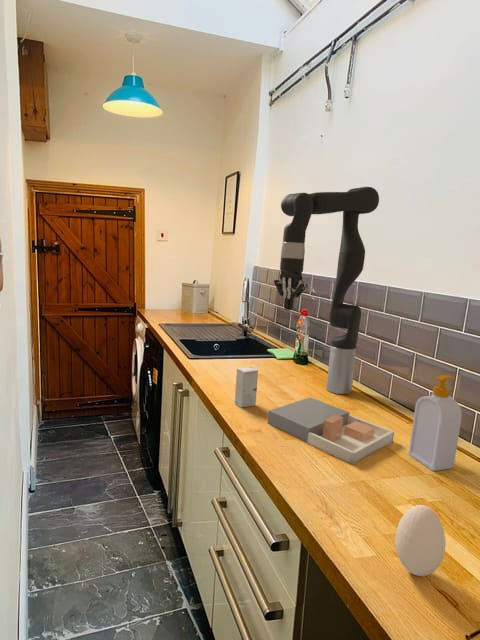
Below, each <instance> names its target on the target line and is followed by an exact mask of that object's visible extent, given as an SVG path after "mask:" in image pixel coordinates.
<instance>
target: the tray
mask: <svg viewBox="0 0 480 640" xmlns="http://www.w3.org/2000/svg"><path fill="white" fill-rule="evenodd" d="M355 421H357V422H360V423H362V424H365V425H368V426H370V427H373V428H375V431H374V436H373V437H372V438H370V439H368V440H366V441H365V442H361V441H359V440H357V439H354V438H352V437H349V436H347V435H344V432H345V426H347V425H349V424H351V423H353V422H355ZM394 435H395V431H393V430H390V429H388V428H386V427H382V426H380V425H377V424H374V423H372V422H370V421H367V420H364V419H362V418H360V417H356V416H354V415H352V414H351V415H350V414H349V421H348V424H346V425H344V426H342V435H341V438H340V439H338V440H336V441H334V442H331V441H329V440H327V439H325V438H322V436H323V435H321V436H318V435H316V434H313V433H311V432H309V433H308V442H307V444H308V445H311V446H313V447H314V448H316V449H319V450H321V451H323V452H325V453H327V454H329V455H332V456H333V457H336V458H338V459H340V460H342V461H344V462H347V463H348V464H350V465H352V466H353V465H355V464H356V463H358V462H360V461H361V460H363V459H365V458H367V457H368V456H370V455H373V454H374V453H376V452H378V451H379V450H381V449H383V448H384V447H386V446H387V445H389V444H392V443H393V442H394V438H395V437H394Z"/></svg>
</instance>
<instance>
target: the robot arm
mask: <svg viewBox="0 0 480 640" xmlns="http://www.w3.org/2000/svg"><path fill="white" fill-rule="evenodd" d="M379 203H380V196H379V191H377V190H376V189H375V187H372V186H362V187H355V188H350V189H348V190H347V191H337V192H336V191H322V192H321V191H319V192H318V191H317V192H312V193H308V192H297V193H289V194H287V195H286V196H284V197H283V198H282V200H281V204H280V209H281V211H282V212H283V214H285V215H286V216H287V217H292V221H290V222H289V223H287V224H285V226H284V228H283V237H282V244H281V245H282V246H281V253H280V264H279V270H280V274H279V277H278V278H277V279H274V280H273V283H274V285H275V287H276V290H277V292H278V294H279V296H280V297H283V298H284V299H283V300H284V301H283V308H284V310H285V311H292V310H293V308H294V300H295V299H296V298H299V297H300V296H301V295H302V294H303V293H304V291H305V290H306V288H308V283H307V282H304V281H303V276H302V275H303V272H304V263H305V253H306V252H305V251H306V250H305V248H306V247H305V245H306V244H305V242H306V234H307V228H308V226H309V222H310V220H311V217H312V215H326V214H334V213H339V212H342V225H341V226H342V229H341V239H340V246H339V253H338V261H337V268H336V269H337V270H336V276H335V278H336V279H335V285H334V290H333V295H332V301H331V304H330V310H329V315H328V316H329V317H328V318H329V325H330V326H331V327H332V328H338V329H343V330H346V333H345V334H344V335H339V336H334V337H332V338H331V340H330V348H329V358H328V359H329V360H328V361H329V362H328V369H327V379H326V388H325V389H326V390H327V391H328V392H330V393H333V394H337V395H349V394H351V392H352V390H353V383H354V376H355V359H356V351H357V343H358V339H359V332H360V327H361V326H360V325H361V319H362V309H361V307H360V306H359V305H356V304H348V303H344V299H345V297H346V293H347V292H348V290H349V289H350V287H351V286H352V285H353V284H354V283H355V281H356V280H357V279H358V278H359V276H360V275H361V274H362V272H363V271H364V266H365V265H364V264H365V258H366V257H365V256H366V248H365V245H364V242H363V240H362V238H361V235H360V232H359V216H360V215H366V214H370V213H372V212H374V211H376V209H377V208H378V206H379Z"/></svg>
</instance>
